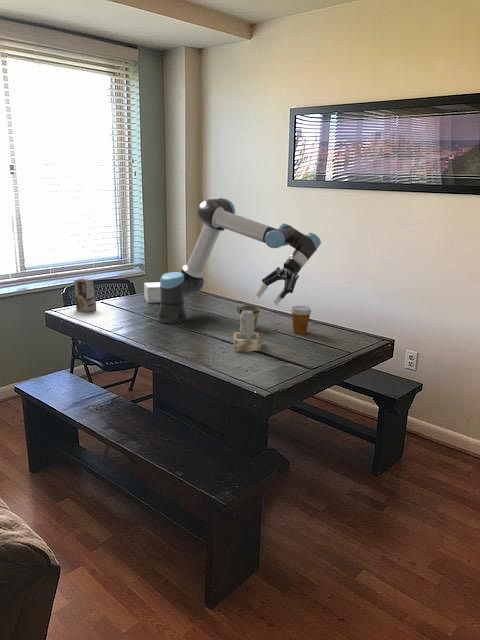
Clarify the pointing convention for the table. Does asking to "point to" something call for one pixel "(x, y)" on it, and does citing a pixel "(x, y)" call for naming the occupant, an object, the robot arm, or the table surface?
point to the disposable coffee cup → (300, 319)
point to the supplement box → (152, 292)
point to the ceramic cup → (251, 308)
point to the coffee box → (85, 295)
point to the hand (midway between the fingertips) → (265, 299)
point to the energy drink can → (247, 325)
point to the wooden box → (246, 343)
